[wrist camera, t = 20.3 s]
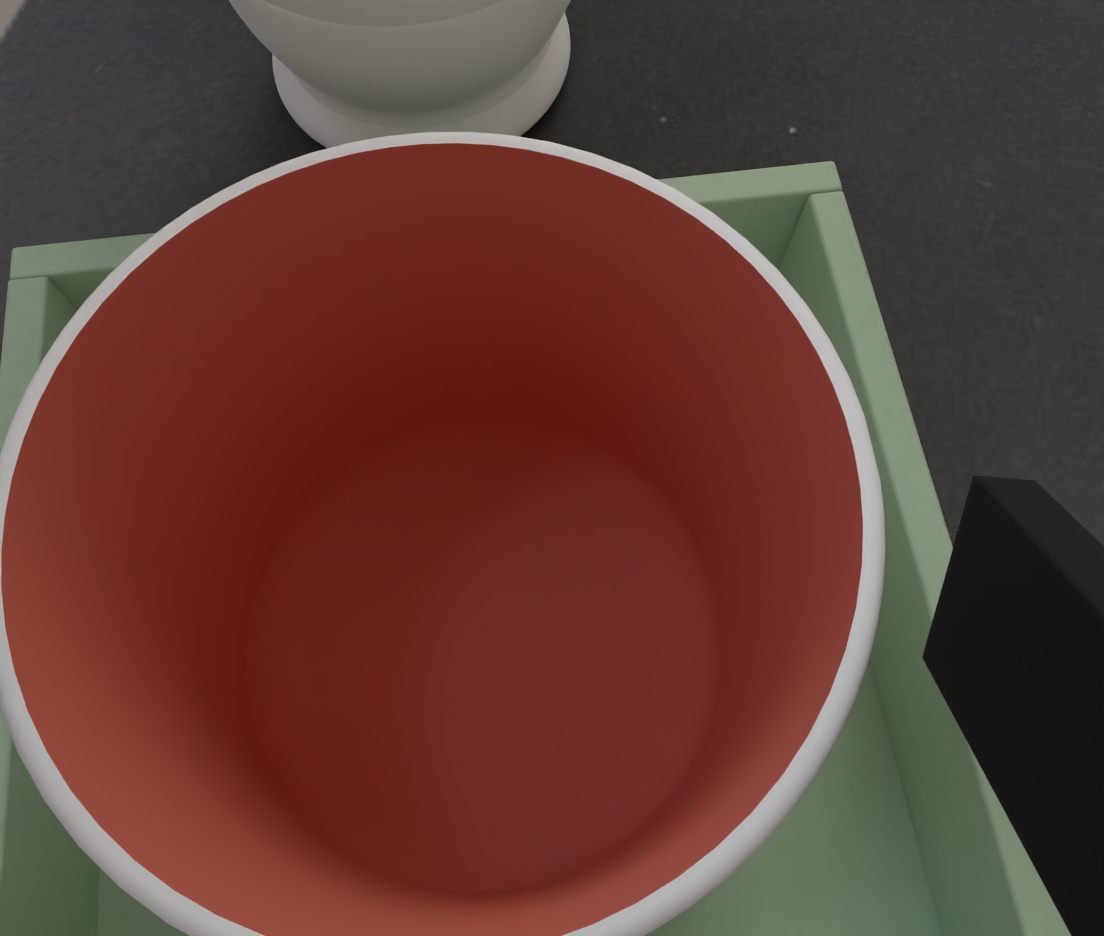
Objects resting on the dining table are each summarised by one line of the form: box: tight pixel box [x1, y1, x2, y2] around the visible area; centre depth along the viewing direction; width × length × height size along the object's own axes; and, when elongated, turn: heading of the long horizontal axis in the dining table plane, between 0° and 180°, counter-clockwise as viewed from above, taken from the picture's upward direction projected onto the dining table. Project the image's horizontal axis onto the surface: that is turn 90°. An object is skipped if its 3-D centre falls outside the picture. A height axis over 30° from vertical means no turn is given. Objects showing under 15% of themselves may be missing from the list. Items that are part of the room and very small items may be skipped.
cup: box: [0, 132, 886, 936], centre depth 15 cm, size 10×10×10 cm
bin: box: [0, 161, 1071, 936], centre depth 18 cm, size 18×18×4 cm
